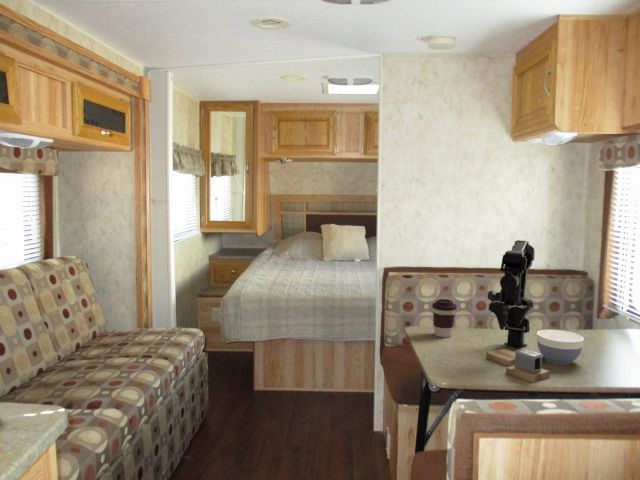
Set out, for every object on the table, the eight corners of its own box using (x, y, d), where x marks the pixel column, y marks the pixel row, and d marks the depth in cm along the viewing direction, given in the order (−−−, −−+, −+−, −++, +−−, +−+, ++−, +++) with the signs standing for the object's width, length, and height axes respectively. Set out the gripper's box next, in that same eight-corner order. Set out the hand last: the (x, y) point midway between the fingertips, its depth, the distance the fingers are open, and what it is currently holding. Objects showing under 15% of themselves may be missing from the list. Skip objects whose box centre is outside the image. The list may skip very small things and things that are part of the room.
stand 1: (503, 353, 212) (503, 348, 212) (526, 361, 204) (526, 355, 204) (486, 358, 207) (486, 352, 206) (508, 366, 198) (509, 360, 198)
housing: (523, 364, 194) (524, 348, 193) (541, 371, 188) (542, 353, 188) (514, 367, 191) (515, 350, 190) (532, 373, 185) (533, 356, 185)
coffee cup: (455, 339, 229) (457, 304, 227) (431, 337, 231) (432, 302, 229) (454, 332, 239) (456, 298, 237) (431, 331, 241) (432, 297, 239)
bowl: (558, 351, 216) (560, 327, 214) (592, 365, 201) (594, 339, 200) (526, 356, 210) (527, 331, 209) (557, 370, 195) (559, 344, 194)
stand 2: (523, 367, 197) (524, 362, 197) (549, 376, 189) (549, 371, 188) (506, 373, 191) (506, 367, 191) (531, 382, 183) (531, 376, 183)
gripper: (509, 280, 214) (507, 319, 216) (477, 284, 204) (475, 326, 206) (535, 285, 205) (532, 326, 207) (503, 290, 195) (500, 333, 197)
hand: (509, 327), depth 204 cm, fingers open, 9 cm apart
